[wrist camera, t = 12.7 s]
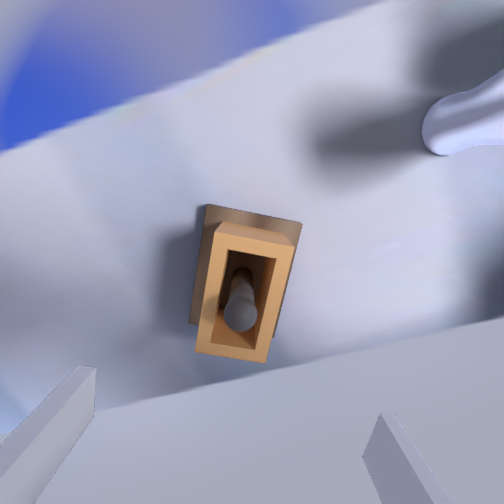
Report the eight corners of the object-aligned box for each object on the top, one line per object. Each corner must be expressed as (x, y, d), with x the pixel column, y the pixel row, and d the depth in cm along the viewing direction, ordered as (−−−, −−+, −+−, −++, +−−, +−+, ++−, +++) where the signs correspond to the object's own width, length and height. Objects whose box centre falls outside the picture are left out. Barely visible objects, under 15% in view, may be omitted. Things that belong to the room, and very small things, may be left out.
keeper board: (299, 222, 29) (335, 243, 17) (272, 331, 32) (286, 409, 21) (208, 203, 28) (181, 213, 16) (191, 317, 32) (158, 390, 20)
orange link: (222, 221, 27) (214, 231, 20) (283, 233, 28) (294, 247, 21) (206, 315, 30) (194, 352, 23) (261, 325, 30) (265, 363, 24)
